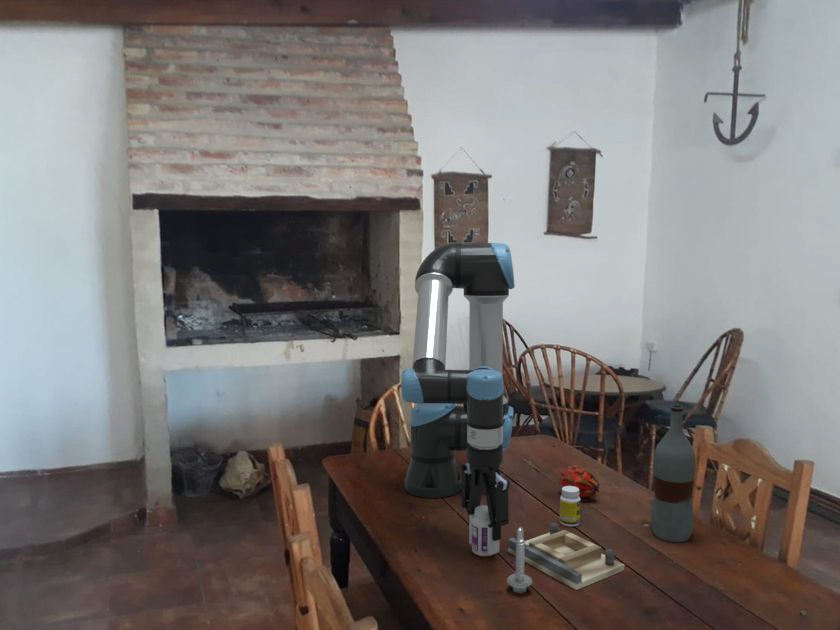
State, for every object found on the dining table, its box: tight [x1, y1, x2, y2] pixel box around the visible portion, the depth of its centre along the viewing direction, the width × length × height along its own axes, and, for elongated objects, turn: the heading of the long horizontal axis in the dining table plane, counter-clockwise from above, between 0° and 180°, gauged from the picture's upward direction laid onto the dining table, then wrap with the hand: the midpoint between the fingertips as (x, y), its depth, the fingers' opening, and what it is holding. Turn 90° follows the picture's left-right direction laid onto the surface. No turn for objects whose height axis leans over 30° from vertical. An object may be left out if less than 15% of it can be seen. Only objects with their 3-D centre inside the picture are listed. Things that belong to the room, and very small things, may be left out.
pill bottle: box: [471, 504, 496, 557], centre depth 162 cm, size 5×5×10 cm
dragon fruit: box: [557, 464, 600, 502], centre depth 194 cm, size 8×8×12 cm
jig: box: [507, 522, 625, 591], centre depth 159 cm, size 20×14×4 cm
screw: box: [506, 526, 533, 594], centre depth 147 cm, size 13×5×5 cm
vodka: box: [650, 404, 697, 543], centre depth 170 cm, size 9×9×30 cm
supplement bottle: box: [559, 486, 582, 527], centre depth 178 cm, size 5×5×8 cm
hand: (484, 547), depth 163 cm, fingers closed on pill bottle, 5 cm apart
